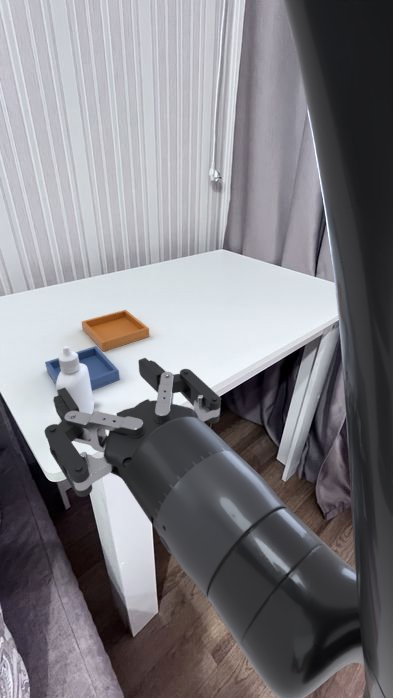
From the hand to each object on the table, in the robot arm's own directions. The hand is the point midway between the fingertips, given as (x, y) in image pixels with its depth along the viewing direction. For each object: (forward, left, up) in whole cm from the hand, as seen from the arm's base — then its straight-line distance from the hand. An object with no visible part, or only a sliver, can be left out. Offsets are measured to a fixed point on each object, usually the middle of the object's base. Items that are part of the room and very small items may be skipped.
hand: (104, 379), depth 34 cm
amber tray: (+15, +31, -14) cm, 37 cm away
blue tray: (+4, +21, -14) cm, 26 cm away
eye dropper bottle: (0, +12, -14) cm, 19 cm away
